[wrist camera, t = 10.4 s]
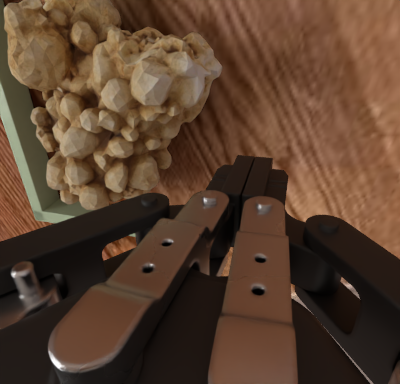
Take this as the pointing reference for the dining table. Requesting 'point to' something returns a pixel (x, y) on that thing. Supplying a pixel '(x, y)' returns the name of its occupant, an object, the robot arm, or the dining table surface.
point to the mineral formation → (105, 94)
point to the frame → (29, 143)
